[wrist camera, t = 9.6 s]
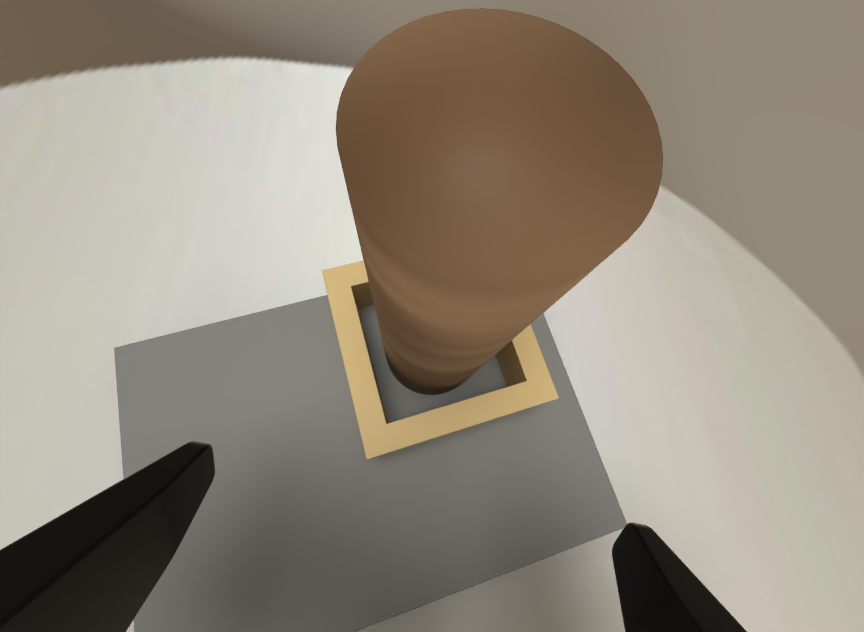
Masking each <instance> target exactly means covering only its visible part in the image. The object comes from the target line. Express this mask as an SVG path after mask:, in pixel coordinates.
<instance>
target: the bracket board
mask: <svg viewBox="0 0 864 632" xmlns="http://www.w3.org/2000/svg"><path fill="white" fill-rule="evenodd" d="M322 273H323V277H324V282H325V286H326V290H327V294H328V295H325V296H321V297H317V298H313V299H309V300H305V301H301V302H297V303H293V304H289V305H285V306H281V307H277V308H273V309H269V310H265V311H261V312H257V313H253V314H249V315H245V316H241V317H237V318H233V319H229V320H225V321H221V322H217V323H213V324H208V325H204V326H200V327H196V328H192V329H188V330H184V331H180V332H176V333H172V334H168V335H164V336H160V337H156V338H152V339H148V340H144V341H140V342H136V343H132V344H128V345H124V346H120V347H116V348H114V351H115V365H116V379H117V393H118V407H119V421H120V435H121V449H122V463H123V477H124V479H125V478H127V477H128V476H130V475H132V474H134V473H135V472H137V471H139V470H141V469H142V468H144V467H146V466H148V465H149V464H151V463H153V462H155V461H156V460H158V459H160V458H161V457H163V456H165V455H167V454H168V453H170V452H172V451H174V450H175V449H177V448H179V447H181V446H182V445H184V444H186V443H188V442H191V441H197V442H202V443H207V444H210V445H211V446H212V448H213V455H214V464H215V476H214V479H213V482H212V484H211V486H210V488H209V490H208V491H207V493H206V495H205V497H204V499H203V501H202V503H201V505H200V507H199V509H198V511H197V513H196V515H195V517H194V519H193V520H192V522H191V524H190V526H189V528H188V530H187V532H186V534H185V536H184V538H183V540H182V542H181V544H180V546H179V547H178V549H177V551H176V553H175V555H174V557H173V558H172V560H171V561H170V563H169V565H168V566H167V568H166V570H165V571H164V573H163V574H162V576H161V577H160V579H159V581H158V582H157V584H156V585H155V587H154V588H153V590H152V591H151V593H150V595H149V596H148V598H147V599H146V601H145V602H144V604H143V606H142V607H141V609H140V610H139V612H138V613H137V615H136V616H135V618H134V630H135V632H355V631H358V630H360V629H363V628H365V627H368V626H371V625H373V624H376V623H378V622H381V621H383V620H386V619H389V618H391V617H394V616H396V615H399V614H402V613H404V612H407V611H409V610H412V609H415V608H417V607H420V606H422V605H425V604H428V603H430V602H433V601H435V600H438V599H441V598H443V597H446V596H448V595H451V594H453V593H456V592H459V591H461V590H464V589H466V588H469V587H472V586H474V585H477V584H479V583H482V582H485V581H487V580H490V579H492V578H495V577H498V576H500V575H503V574H505V573H508V572H510V571H513V570H516V569H518V568H521V567H523V566H526V565H529V564H531V563H534V562H536V561H539V560H542V559H544V558H547V557H549V556H552V555H555V554H557V553H560V552H562V551H565V550H567V549H570V548H573V547H575V546H578V545H580V544H583V543H586V542H588V541H591V540H593V539H596V538H599V537H601V536H604V535H606V534H609V533H612V532H614V531H617V530H619V529H622V528H624V527H625V526H626V525H627V523H626V521H625V518H624V516H623V513H622V511H621V508H620V506H619V503H618V500H617V498H616V495H615V493H614V490H613V488H612V485H611V483H610V480H609V478H608V475H607V473H606V470H605V468H604V465H603V463H602V460H601V458H600V455H599V453H598V450H597V448H596V445H595V443H594V440H593V438H592V435H591V432H590V430H589V427H588V425H587V422H586V420H585V417H584V415H583V412H582V410H581V407H580V405H579V402H578V400H577V397H576V395H575V392H574V390H573V387H572V385H571V382H570V380H569V377H568V375H567V372H566V370H565V367H564V364H563V362H562V359H561V357H560V354H559V352H558V349H557V347H556V344H555V342H554V339H553V337H552V334H551V332H550V329H549V327H548V324H547V322H546V319H545V317H544V314H541V315H540V316H539V317H538V318H537V319H536V320H534V321H533V322H532V323H531V324H530V325H529V326H528V327H526V328H525V329H524V330H523V331H522V332H521V333H520V334H518V335H517V336H516V337H515V338H514V339H513V340H511V341H510V342H509V343H508V344H507V345H506V346H505V347H503V348H502V349H501V350H500V351H499V352H498V353H496V354H495V355H494V356H493V357H492V358H491V359H490V360H488V361H487V362H486V363H485V364H484V365H483V366H481V367H480V368H479V369H478V370H477V371H476V372H475V373H473V374H472V375H471V376H470V377H469V378H468V379H466V380H465V381H464V382H463V383H462V384H461V385H459V386H458V387H457V388H455V389H453V390H451V391H449V392H447V393H443V394H439V395H424V394H420V393H416V392H414V391H411V390H410V389H408V388H406V387H405V386H403V385H402V384H401V383H400V382H399V381H398V380H397V379H396V378H395V377H394V375H393V374H392V372H391V370H390V368H389V366H388V363H387V359H386V355H385V350H384V346H383V342H382V337H381V333H380V329H379V324H378V320H377V316H376V311H375V307H374V303H373V298H372V294H371V290H370V285H369V281H368V277H367V272H366V268H365V264H364V261H360V262H356V263H351V264H347V265H343V266H339V267H335V268H330V269H326V270H322Z"/></svg>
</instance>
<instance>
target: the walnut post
mask: <svg viewBox="0 0 864 632" xmlns="http://www.w3.org/2000/svg"><path fill="white" fill-rule="evenodd" d="M336 136H337V146H338V151H339V156H340V160H341V164H342V169H343V173H344V177H345V182H346V186H347V190H348V195H349V199H350V203H351V208H352V212H353V216H354V220H355V225H356V229H357V233H358V238H359V242H360V246H361V251H362V255H363V259H364V264H365V268H366V272H367V277H368V281H369V285H370V290H371V294H372V298H373V303H374V307H375V311H376V316H377V320H378V324H379V329H380V333H381V337H382V342H383V346H384V350H385V355H386V359H387V363H388V366H389V368H390V370H391V372H392V374H393V375H394V377H395V378H396V379H397V380H398V381H399V382H400V383H401V384H402V385H403V386H405V387H406V388H408V389H410V390H411V391H414V392H416V393H420V394H424V395H439V394H443V393H447V392H449V391H451V390H453V389H455V388H457V387H458V386H459V385H461V384H462V383H463V382H464V381H465V380H466V379H468V378H469V377H470V376H471V375H472V374H473V373H475V372H476V371H477V370H478V369H479V368H480V367H481V366H483V365H484V364H485V363H486V362H487V361H488V360H490V359H491V358H492V357H493V356H494V355H495V354H496V353H498V352H499V351H500V350H501V349H502V348H503V347H505V346H506V345H507V344H508V343H509V342H510V341H511V340H513V339H514V338H515V337H516V336H517V335H518V334H520V333H521V332H522V331H523V330H524V329H525V328H526V327H528V326H529V325H530V324H531V323H532V322H533V321H534V320H536V319H537V318H538V317H539V316H540V315H541V314H543V313H544V312H545V311H546V310H547V309H548V308H549V307H551V306H552V305H553V304H554V303H555V302H556V301H558V300H559V299H560V298H561V297H562V296H563V295H564V294H566V293H567V292H568V291H569V290H570V289H571V288H573V287H574V286H575V285H576V284H577V283H578V282H579V281H581V280H582V279H583V278H584V277H585V276H586V275H588V274H589V273H590V272H591V271H592V270H593V269H594V268H596V267H597V266H598V265H599V264H600V263H601V262H603V261H604V260H605V259H606V258H607V257H608V256H609V255H611V254H612V253H613V252H614V251H615V250H616V249H618V248H619V247H620V246H621V245H622V244H623V243H624V242H626V241H627V240H628V239H629V238H630V237H631V236H632V234H633V233H634V232H635V231H636V230H637V229H638V228H639V227H640V226H641V224H642V223H643V221H644V219H645V218H646V216H647V215H648V213H649V212H650V210H651V208H652V206H653V203H654V201H655V198H656V196H657V194H658V190H659V186H660V181H661V177H662V165H663V153H662V142H661V137H660V133H659V129H658V125H657V122H656V120H655V117H654V115H653V112H652V110H651V107H650V106H649V104H648V102H647V100H646V98H645V97H644V95H643V93H642V91H641V90H640V89H639V87H638V86H637V84H636V83H635V82H634V80H633V79H632V78H631V77H630V75H629V74H628V73H627V72H626V71H625V70H624V69H623V68H622V67H621V65H620V64H619V63H617V62H616V61H615V60H614V59H613V58H612V57H611V56H609V55H608V54H607V53H606V52H605V51H604V50H602V49H601V48H599V47H598V46H597V45H595V44H593V43H592V42H591V41H589V40H588V39H586V38H584V37H583V36H581V35H579V34H577V33H576V32H574V31H572V30H570V29H567V28H565V27H563V26H561V25H559V24H557V23H554V22H551V21H548V20H545V19H542V18H539V17H536V16H532V15H528V14H524V13H520V12H514V11H507V10H500V9H483V8H480V9H461V10H454V11H446V12H442V13H438V14H433V15H429V16H426V17H423V18H421V19H418V20H415V21H412V22H410V23H408V24H406V25H404V26H402V27H400V28H398V29H396V30H394V31H393V32H392V33H390V34H388V35H387V36H386V37H384V38H382V39H381V40H380V41H379V42H377V43H376V44H375V45H374V46H373V47H372V48H371V49H369V50H368V51H367V53H366V54H365V55H364V56H363V57H362V58H361V60H360V61H359V62H358V63H357V64H356V66H355V68H354V69H353V71H352V72H351V74H350V76H349V77H348V79H347V81H346V84H345V86H344V89H343V91H342V93H341V97H340V101H339V105H338V110H337V120H336Z"/></svg>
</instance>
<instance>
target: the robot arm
mask: <svg viewBox="0 0 864 632" xmlns="http://www.w3.org/2000/svg"><path fill="white" fill-rule="evenodd" d="M214 476H215V464H214V455H213V448H212V446H211V445H210V444H207V443H202V442H197V441H191V442H188V443H186V444H184V445H182V446H181V447H179V448H177V449H175V450H174V451H172V452H170V453H168V454H167V455H165V456H163V457H161V458H160V459H158V460H156V461H155V462H153V463H151V464H149V465H148V466H146V467H144V468H142V469H141V470H139V471H137V472H135V473H134V474H132V475H130V476H128V477H127V478H125V479H123V480H121V481H120V482H118V483H116V484H114V485H113V486H111V487H109V488H107V489H106V490H104V491H102V492H100V493H99V494H97V495H95V496H94V497H92V498H90V499H88V500H87V501H85V502H83V503H81V504H80V505H78V506H76V507H74V508H73V509H71V510H69V511H67V512H66V513H64V514H62V515H60V516H59V517H57V518H55V519H53V520H52V521H50V522H48V523H46V524H45V525H43V526H41V527H39V528H38V529H36V530H34V531H33V532H31V533H29V534H27V535H26V536H24V537H22V538H20V539H19V540H17V541H15V542H13V543H12V544H10V545H8V546H6V547H5V548H3V549H1V550H0V632H126V631H127V629H128V627H129V626H130V624H131V623H132V621H133V620H134V618H135V616H136V615H137V613H138V612H139V610H140V609H141V607H142V606H143V604H144V602H145V601H146V599H147V598H148V596H149V595H150V593H151V591H152V590H153V588H154V587H155V585H156V584H157V582H158V581H159V579H160V577H161V576H162V574H163V573H164V571H165V570H166V568H167V566H168V565H169V563H170V561H171V560H172V558H173V557H174V555H175V553H176V551H177V549H178V547H179V546H180V544H181V542H182V540H183V538H184V536H185V534H186V532H187V530H188V528H189V526H190V524H191V522H192V520H193V519H194V517H195V515H196V513H197V511H198V509H199V507H200V505H201V503H202V501H203V499H204V497H205V495H206V493H207V491H208V490H209V488H210V486H211V484H212V482H213V479H214ZM612 557H613V563H614V569H615V575H616V581H617V586H618V592H619V598H620V604H621V610H622V616H623V621H624V627H625V632H747V631H746V630H745V629H744V628H743V627H742V626H741V625H740V624H739V623H738V622H737V620H736V619H735V618H734V617H733V616H732V615H731V614H730V613H729V612H728V611H727V610H726V609H725V607H724V606H723V605H722V604H721V603H720V602H719V601H718V600H717V599H716V598H715V597H714V596H713V594H712V593H711V592H710V591H709V590H708V589H707V588H706V587H705V586H704V585H703V584H702V583H701V581H700V580H699V579H698V578H697V577H696V576H695V575H694V574H693V573H692V572H691V571H690V570H689V568H688V567H687V566H686V565H685V564H684V563H683V562H682V561H681V560H680V559H679V558H678V557H677V555H676V554H675V553H674V552H673V551H672V550H671V549H670V548H669V547H668V546H667V545H666V544H665V542H664V541H663V540H662V539H661V538H660V537H659V536H658V535H657V534H656V533H655V532H654V531H653V530H652V529H651V528H650V527H648V526H646V525H642V524H636V523H628V524H627V525H626V526H625V527H624V529H623V530H622V532H621V534H620V535H619V537H618V538H617V540H616V541H615V543H614V545H613V549H612Z"/></svg>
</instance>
